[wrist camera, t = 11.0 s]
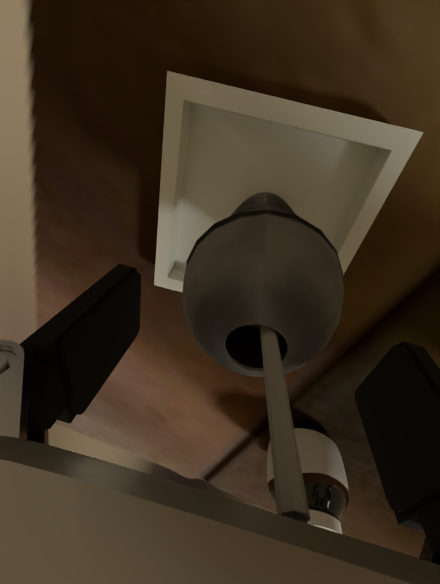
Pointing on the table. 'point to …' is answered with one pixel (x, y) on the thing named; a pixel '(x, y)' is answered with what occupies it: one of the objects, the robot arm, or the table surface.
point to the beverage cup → (266, 313)
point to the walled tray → (268, 166)
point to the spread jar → (318, 476)
